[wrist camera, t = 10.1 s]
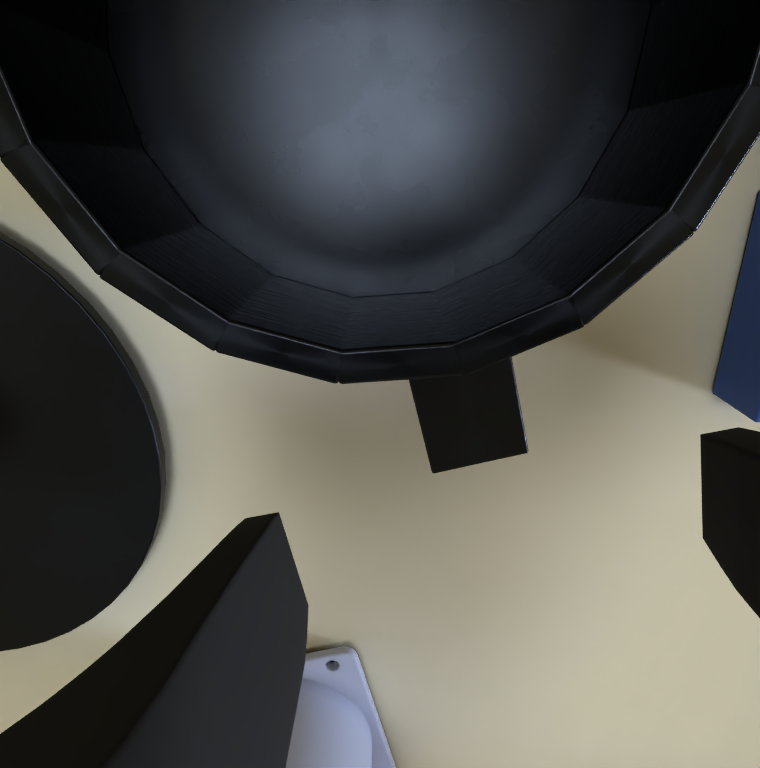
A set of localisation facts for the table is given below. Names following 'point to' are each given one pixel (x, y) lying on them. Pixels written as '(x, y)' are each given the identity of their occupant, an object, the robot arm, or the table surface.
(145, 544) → the lid
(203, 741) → the robot arm
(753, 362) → the fork
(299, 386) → the table surface
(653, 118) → the pot
